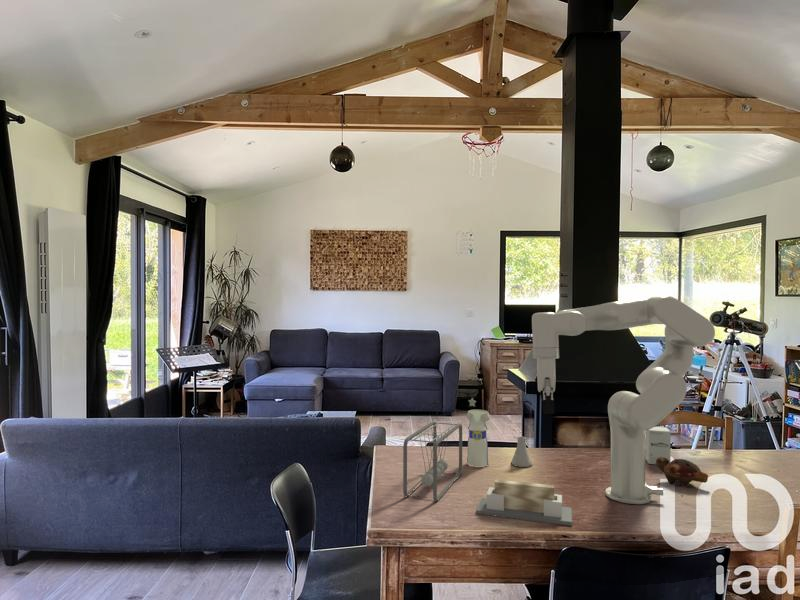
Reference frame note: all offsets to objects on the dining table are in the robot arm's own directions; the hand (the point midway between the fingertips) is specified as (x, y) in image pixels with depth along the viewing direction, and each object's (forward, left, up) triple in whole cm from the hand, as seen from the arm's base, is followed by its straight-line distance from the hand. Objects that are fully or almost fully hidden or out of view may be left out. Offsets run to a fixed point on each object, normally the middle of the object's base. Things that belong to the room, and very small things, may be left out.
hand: (548, 410), depth 153 cm
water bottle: (+25, -26, -26) cm, 45 cm away
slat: (+6, +14, -25) cm, 29 cm away
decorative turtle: (-41, -26, -27) cm, 55 cm away
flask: (+10, -31, -27) cm, 42 cm away
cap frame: (+6, +14, -26) cm, 30 cm away
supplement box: (-38, -50, -27) cm, 68 cm away
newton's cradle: (+35, 0, -27) cm, 44 cm away
